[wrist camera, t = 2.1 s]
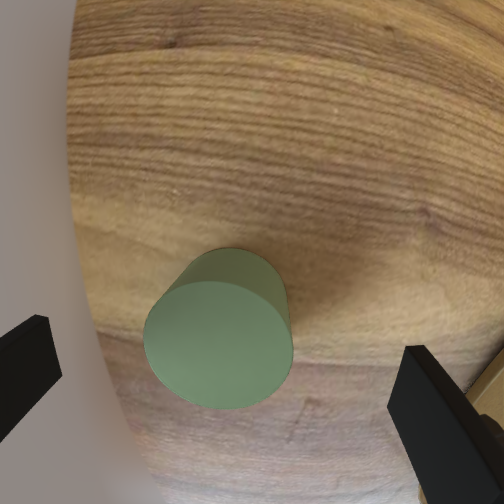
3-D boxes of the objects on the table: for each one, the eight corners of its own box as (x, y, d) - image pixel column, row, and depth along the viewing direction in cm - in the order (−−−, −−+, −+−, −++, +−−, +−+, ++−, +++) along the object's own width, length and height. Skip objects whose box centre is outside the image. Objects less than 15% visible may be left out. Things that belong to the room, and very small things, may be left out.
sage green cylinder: (156, 296, 16) (116, 340, 11) (233, 223, 15) (215, 246, 10) (230, 366, 17) (217, 428, 12) (309, 306, 16) (324, 358, 11)
